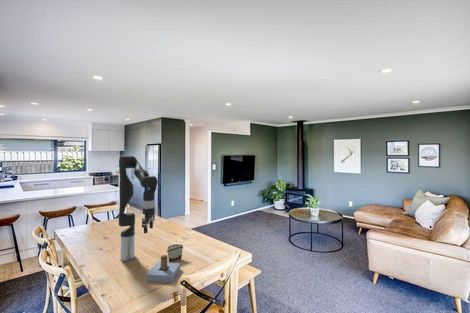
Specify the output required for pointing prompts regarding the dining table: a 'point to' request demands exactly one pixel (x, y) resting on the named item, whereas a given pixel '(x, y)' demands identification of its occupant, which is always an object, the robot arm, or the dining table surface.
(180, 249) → the food container
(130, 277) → the dining table surface
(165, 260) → the walnut peg
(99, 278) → the dining table surface
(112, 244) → the dining table surface
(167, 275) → the socket block
